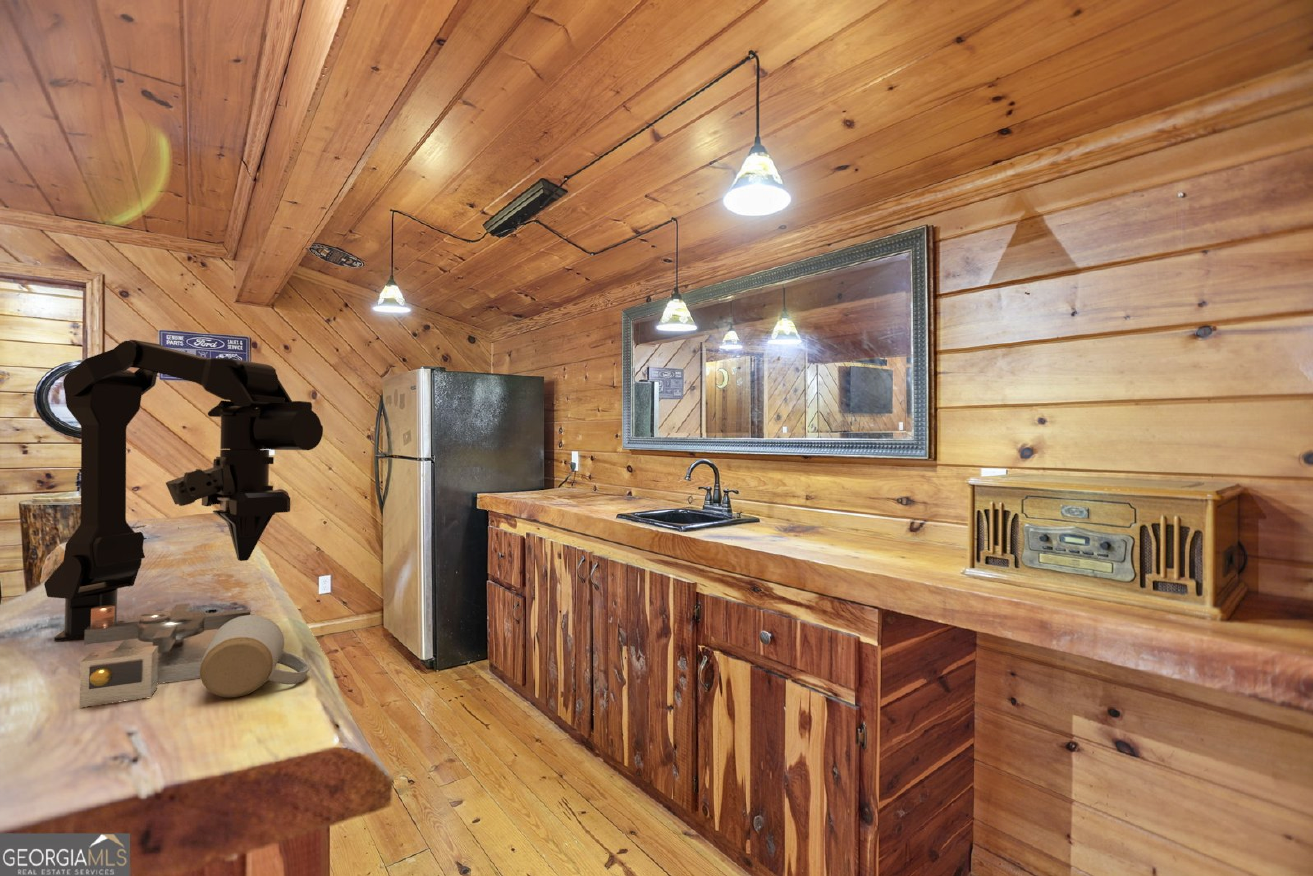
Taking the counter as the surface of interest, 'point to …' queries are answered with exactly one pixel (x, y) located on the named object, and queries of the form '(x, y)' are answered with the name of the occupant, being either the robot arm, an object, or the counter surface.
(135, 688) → the stand
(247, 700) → the counter surface
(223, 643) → the ceramic mug
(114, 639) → the capstan
